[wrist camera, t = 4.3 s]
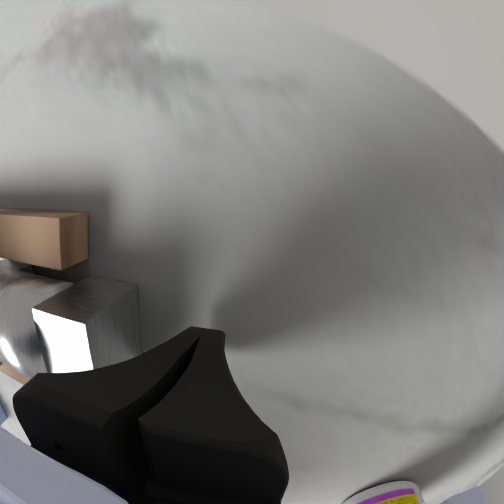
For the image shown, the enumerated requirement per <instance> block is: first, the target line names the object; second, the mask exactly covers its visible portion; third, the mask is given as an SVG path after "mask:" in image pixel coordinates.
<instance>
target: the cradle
mask: <svg viewBox="0 0 504 504" xmlns="http://www.w3.org/2000/svg"><path fill="white" fill-rule="evenodd" d="M6 419H7V416H6V414H5V412H4V410H3V408H2V406H1V404H0V425H1V424H2V423H3V422H4V421H5V420H6Z"/></svg>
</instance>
